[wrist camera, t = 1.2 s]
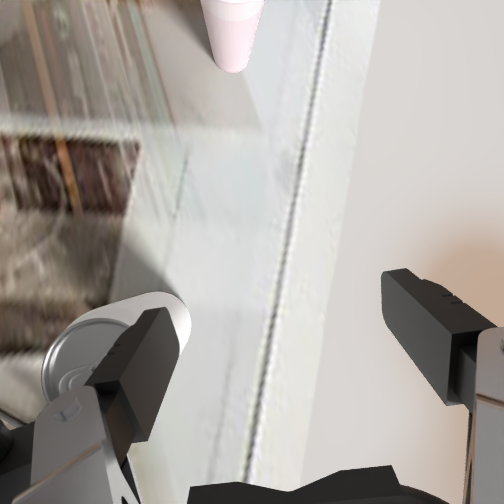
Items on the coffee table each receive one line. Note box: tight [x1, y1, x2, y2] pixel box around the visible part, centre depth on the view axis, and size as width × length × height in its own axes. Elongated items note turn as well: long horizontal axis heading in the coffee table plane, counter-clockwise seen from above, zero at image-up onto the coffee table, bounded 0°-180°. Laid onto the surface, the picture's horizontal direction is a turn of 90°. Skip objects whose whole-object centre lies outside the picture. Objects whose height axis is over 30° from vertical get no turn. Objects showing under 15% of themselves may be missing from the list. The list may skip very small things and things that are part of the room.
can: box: [41, 292, 191, 404], centre depth 20 cm, size 6×6×12 cm
